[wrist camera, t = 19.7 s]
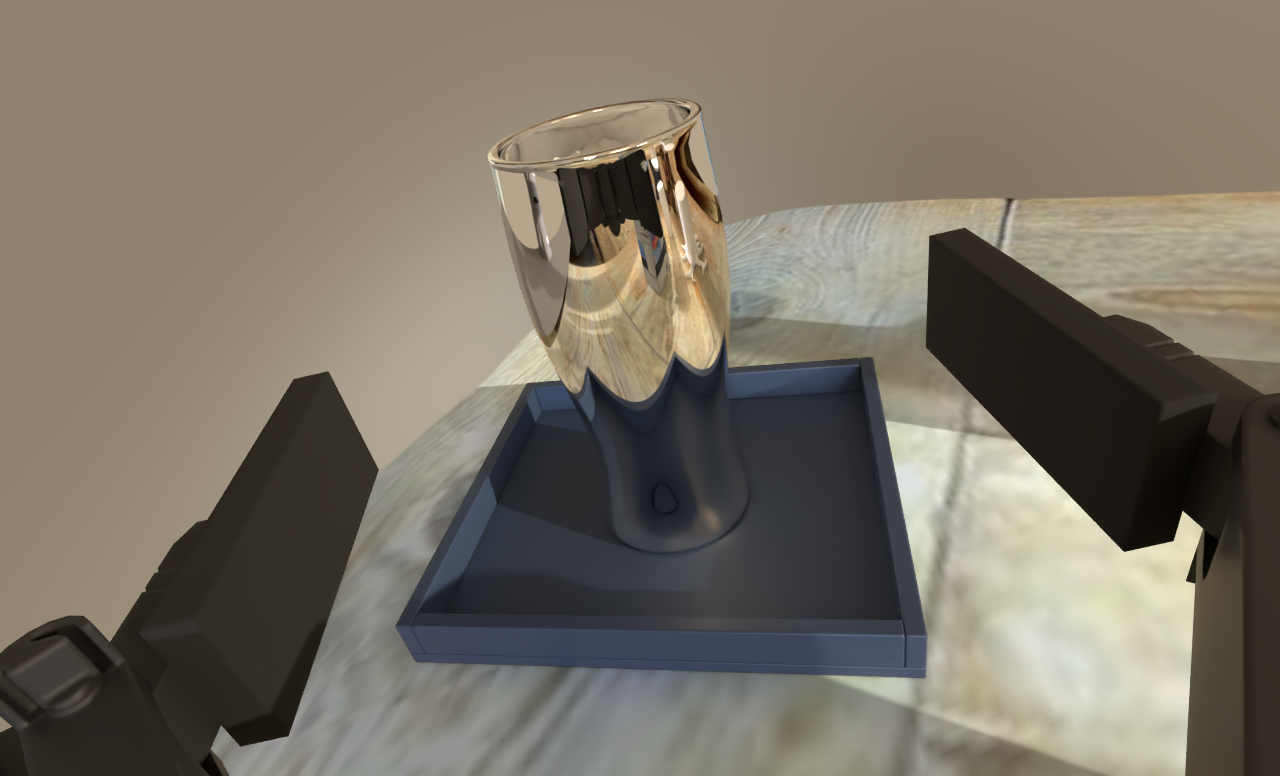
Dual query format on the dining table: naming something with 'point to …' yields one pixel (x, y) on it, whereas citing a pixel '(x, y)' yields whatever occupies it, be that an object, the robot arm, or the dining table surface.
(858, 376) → the dark blue tray
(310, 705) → the dining table surface
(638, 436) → the beer glass
